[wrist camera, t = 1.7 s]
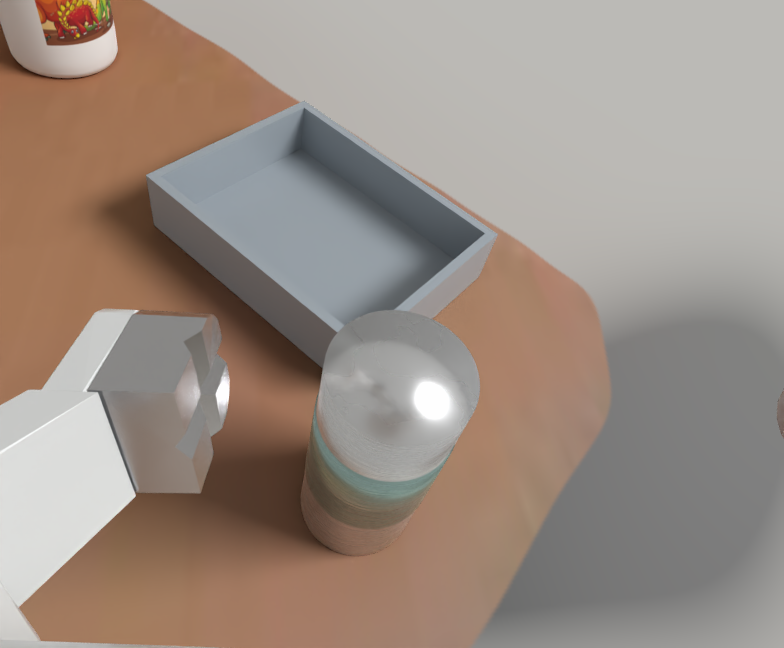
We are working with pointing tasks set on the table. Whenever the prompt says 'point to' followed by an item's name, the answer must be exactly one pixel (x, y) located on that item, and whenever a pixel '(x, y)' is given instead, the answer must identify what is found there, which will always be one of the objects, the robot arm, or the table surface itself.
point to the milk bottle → (60, 35)
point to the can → (383, 427)
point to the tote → (316, 227)
